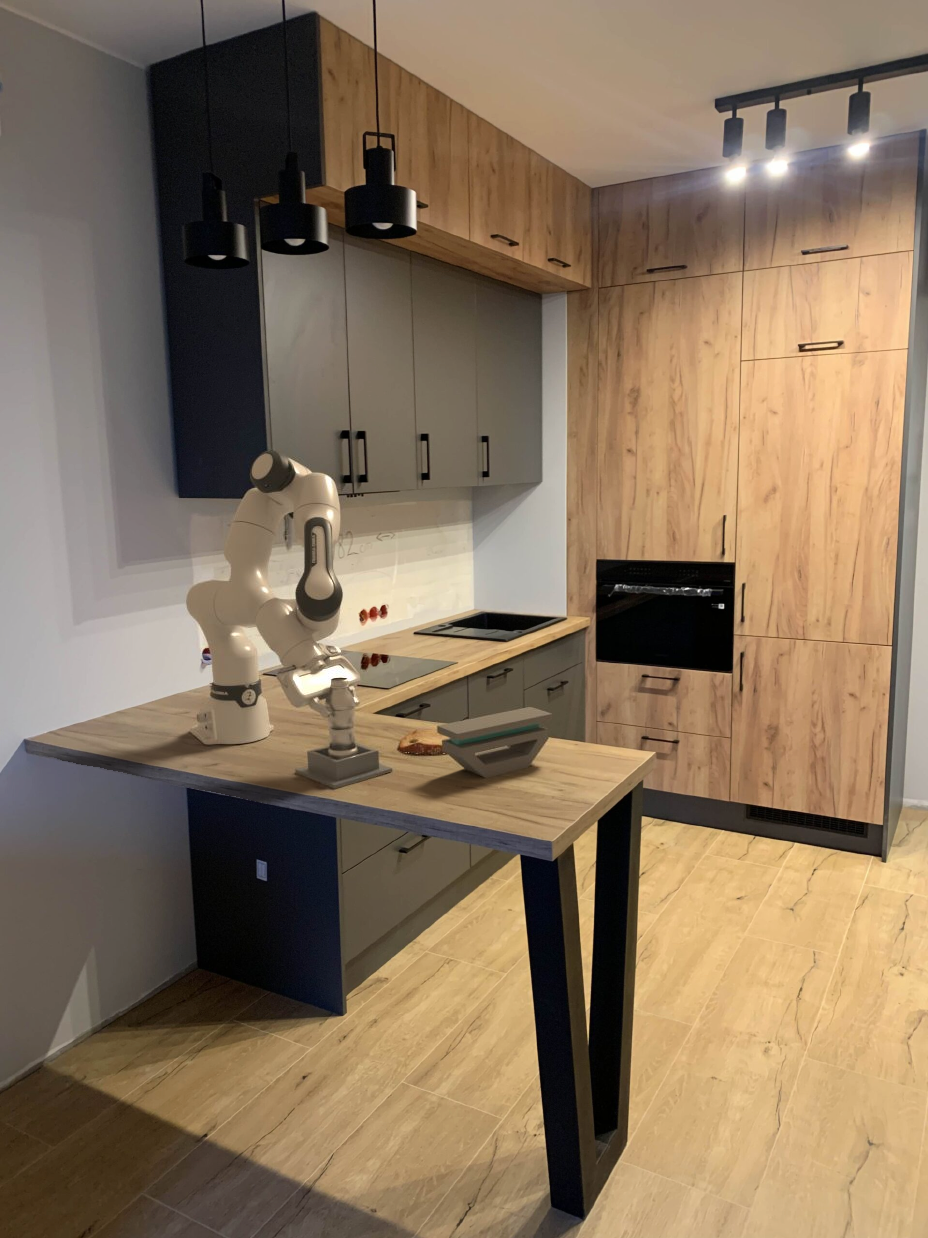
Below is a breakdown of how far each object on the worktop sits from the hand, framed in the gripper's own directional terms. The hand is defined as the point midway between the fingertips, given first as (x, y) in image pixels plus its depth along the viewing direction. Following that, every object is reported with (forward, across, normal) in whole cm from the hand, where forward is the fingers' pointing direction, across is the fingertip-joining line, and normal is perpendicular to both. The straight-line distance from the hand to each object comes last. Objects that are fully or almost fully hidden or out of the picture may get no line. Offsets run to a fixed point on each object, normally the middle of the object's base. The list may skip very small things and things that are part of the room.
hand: (342, 710), depth 200 cm
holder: (+9, 0, +10) cm, 14 cm away
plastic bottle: (+9, 0, +10) cm, 13 cm away
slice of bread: (+16, +27, +5) cm, 31 cm away
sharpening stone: (+29, +18, -9) cm, 36 cm away
